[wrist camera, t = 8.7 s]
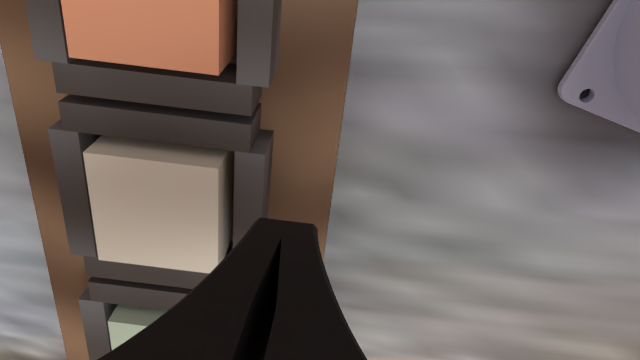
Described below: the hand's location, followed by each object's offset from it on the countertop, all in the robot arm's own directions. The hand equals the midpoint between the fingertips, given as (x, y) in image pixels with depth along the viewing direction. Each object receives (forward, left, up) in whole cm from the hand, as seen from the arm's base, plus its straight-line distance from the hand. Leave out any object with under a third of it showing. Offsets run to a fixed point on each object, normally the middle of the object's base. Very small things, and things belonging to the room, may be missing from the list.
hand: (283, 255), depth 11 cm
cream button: (+4, +4, -7) cm, 9 cm away
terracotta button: (+6, -3, -7) cm, 10 cm away
